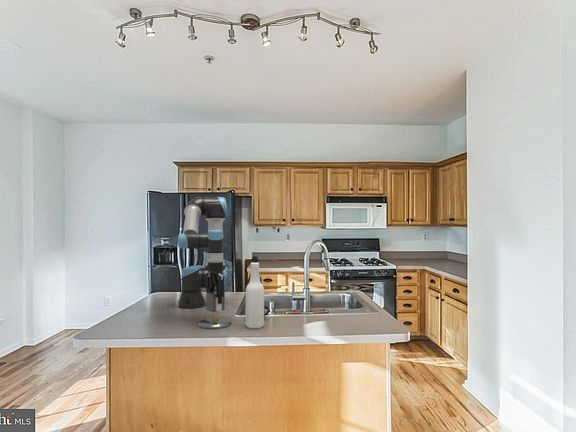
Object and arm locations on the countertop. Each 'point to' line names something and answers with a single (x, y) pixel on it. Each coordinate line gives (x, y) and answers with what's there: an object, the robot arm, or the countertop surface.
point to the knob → (213, 301)
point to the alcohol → (254, 299)
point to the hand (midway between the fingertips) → (215, 309)
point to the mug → (264, 310)
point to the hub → (214, 322)
